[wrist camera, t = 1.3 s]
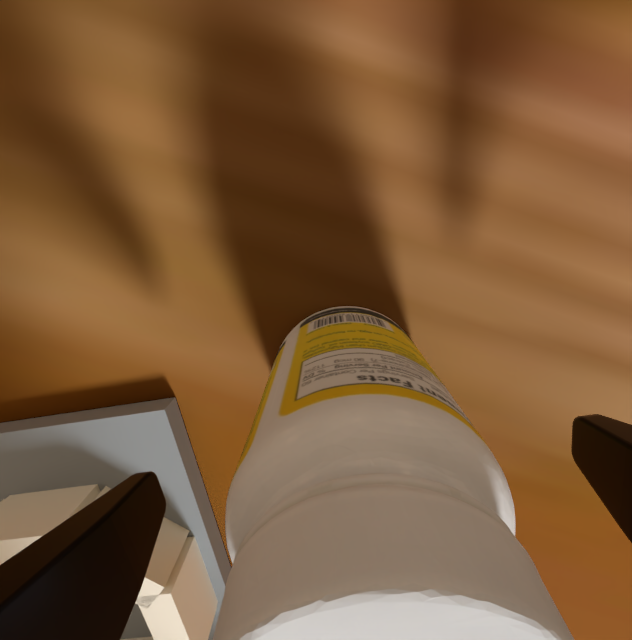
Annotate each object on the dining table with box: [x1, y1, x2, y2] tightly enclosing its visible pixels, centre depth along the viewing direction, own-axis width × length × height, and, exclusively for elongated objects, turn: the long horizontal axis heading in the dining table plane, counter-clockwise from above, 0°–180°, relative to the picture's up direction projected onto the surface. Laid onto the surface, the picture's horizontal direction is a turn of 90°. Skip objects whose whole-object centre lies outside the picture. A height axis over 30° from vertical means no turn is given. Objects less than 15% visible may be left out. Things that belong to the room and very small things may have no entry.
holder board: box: [0, 397, 231, 640], centre depth 13 cm, size 14×10×3 cm
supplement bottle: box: [213, 306, 574, 640], centre depth 7 cm, size 5×5×8 cm
